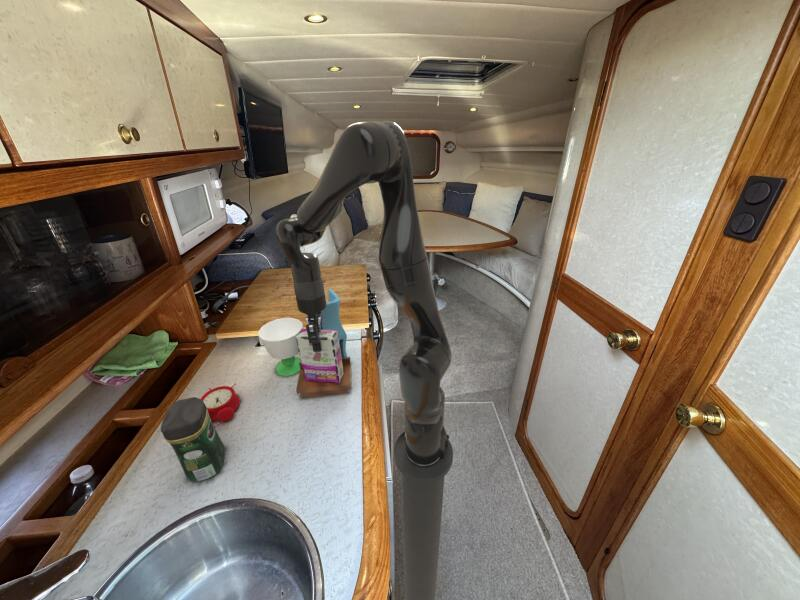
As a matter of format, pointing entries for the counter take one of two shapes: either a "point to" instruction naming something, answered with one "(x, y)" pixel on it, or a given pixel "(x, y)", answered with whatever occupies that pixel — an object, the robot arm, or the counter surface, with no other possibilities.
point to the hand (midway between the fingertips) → (318, 343)
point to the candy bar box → (321, 357)
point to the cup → (282, 343)
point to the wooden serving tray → (323, 388)
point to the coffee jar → (193, 439)
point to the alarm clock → (221, 403)
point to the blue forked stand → (334, 320)
